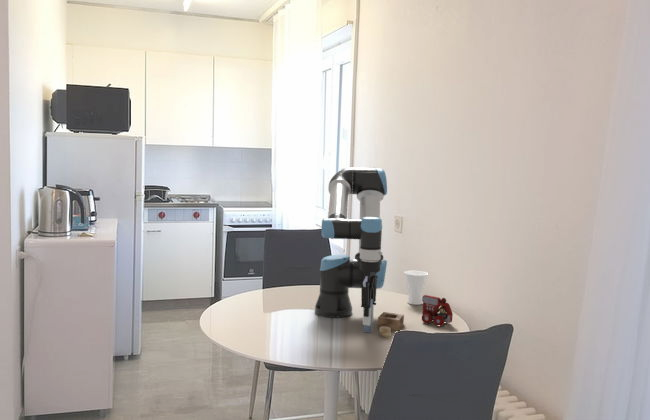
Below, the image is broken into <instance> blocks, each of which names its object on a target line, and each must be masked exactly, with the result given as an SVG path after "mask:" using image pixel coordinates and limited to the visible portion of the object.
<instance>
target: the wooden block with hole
mask: <svg viewBox="0 0 650 420" xmlns="http://www.w3.org/2000/svg"><path fill="white" fill-rule="evenodd" d="M404 319H405V314H402V313H396V312H395V313H392V312H386V311H383V312H382V313H381V314H380V315H378V317H377V329H379V328H380V327H382V326H387V327H390V328H391V331H398V330H399V329H400V330H401V328H403V327H404V325H405V324H404V323H405V322H404ZM400 330H399V331H400Z"/></svg>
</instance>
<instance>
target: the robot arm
mask: <svg viewBox="0 0 650 420" xmlns="http://www.w3.org/2000/svg"><path fill="white" fill-rule="evenodd" d="M327 189H328V193H329V202H328V203H329V204H328V213H327V218H323V219H322V221H321V236H322V238H324V239H331V240H337V239H339V240H340V239H341V240H358V252H356V253H355V254H354V258H351V257H350V255H349V254H333V255H327V256H324V257H322V259H321V261H320V268H319V271H320V275H319V276H320V279H319V280H320V281H319V295H318V298H317V300H316V303H315V306H314V312H315V314H316V315H319V316H321V317H326V318H342V317H343V318H345V317H349V316H351V315H352V314H353V305H352V302H351V299H350V295H349V289H352V288H353V289H361V295H360V296H361V301H360V303H361V305H360V307H361V308H363V310H362V312H363V313H362V325H363V326H364V325H369V326H370V325H371V307H370V303H371V299H373V307H372V324H373V323H374V312H375V311H374V309H375V306H377V303H376V302H377V299H376V298H377V289H381V288H383V287H384V284H385V278H386V272H387V265H388V264H387V263H388V260H386V259H384V255H383V252H382V235H383V231H382V230H383V220H382V219H381V201H382V200H384V197H385V196H386V195H387V194H388V181H387V174H386V171H385V170H384V169H383V168H378V167H345V168H342V169H341V170H339V171H337V172H336V173H335V174H334V175H333V176H332V177H331V178H330V181H329V182H328V188H327ZM349 195H356V200H358V201H359V218H358V219H355V218H353V219H351V218H350V219H349V218H348V207H349Z"/></svg>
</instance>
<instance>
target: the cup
mask: <svg viewBox="0 0 650 420" xmlns="http://www.w3.org/2000/svg"><path fill="white" fill-rule="evenodd" d="M403 273H404V277H405V282H406V284H407V304H410V305H414V306H415V305H417V306H419V305H423V302H422V297H423V295H424V294H423V292H424V287H425V284H426V281H427V279H428V276H429V273H428V272H427V271H423V270H415V269H414V270H413V269H412V270H405V271H403Z"/></svg>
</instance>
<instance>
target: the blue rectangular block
mask: <svg viewBox="0 0 650 420" xmlns="http://www.w3.org/2000/svg"><path fill="white" fill-rule="evenodd" d="M370 307H371V325H370V326H369V325H363V332H364V333H367V334H371V333H372V332H373V331H372V330H373V323H372V307H373V299H371V303H370Z"/></svg>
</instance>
